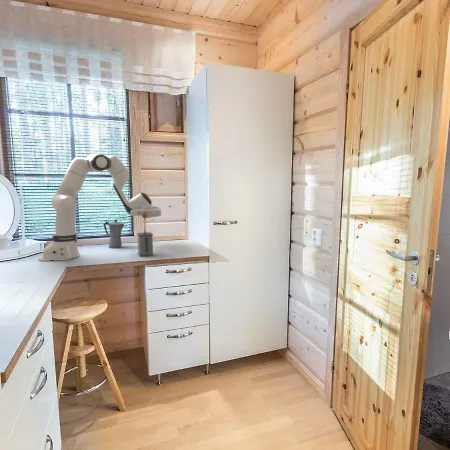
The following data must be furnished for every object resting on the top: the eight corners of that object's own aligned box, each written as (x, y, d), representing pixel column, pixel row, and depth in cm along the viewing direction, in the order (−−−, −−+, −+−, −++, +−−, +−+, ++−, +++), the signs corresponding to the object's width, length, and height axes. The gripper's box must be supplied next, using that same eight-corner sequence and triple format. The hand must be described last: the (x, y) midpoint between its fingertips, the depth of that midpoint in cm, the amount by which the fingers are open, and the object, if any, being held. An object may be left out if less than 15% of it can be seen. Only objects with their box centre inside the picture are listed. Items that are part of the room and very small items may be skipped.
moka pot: (123, 248, 219) (122, 220, 216) (101, 248, 220) (100, 220, 217) (127, 245, 229) (126, 218, 226) (106, 245, 229) (105, 218, 226)
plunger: (141, 242, 197) (140, 212, 194) (139, 241, 203) (138, 211, 200) (150, 242, 200) (149, 211, 197) (148, 240, 205) (148, 211, 202)
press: (140, 257, 195) (139, 235, 193) (137, 253, 204) (137, 233, 202) (154, 256, 198) (153, 234, 196) (150, 252, 208) (150, 232, 206)
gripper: (131, 207, 215) (128, 209, 201) (161, 207, 218) (160, 209, 204) (131, 216, 216) (128, 218, 202) (161, 216, 219) (160, 218, 205)
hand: (145, 213), depth 203 cm, fingers open, 8 cm apart
